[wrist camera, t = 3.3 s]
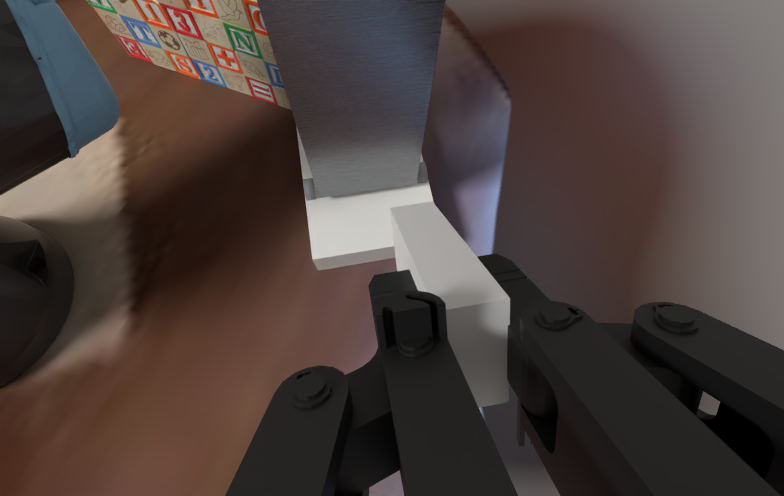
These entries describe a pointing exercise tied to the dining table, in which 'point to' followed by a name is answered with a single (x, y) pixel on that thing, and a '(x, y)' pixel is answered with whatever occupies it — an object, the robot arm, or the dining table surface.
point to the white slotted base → (356, 219)
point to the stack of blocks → (200, 41)
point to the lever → (357, 85)
